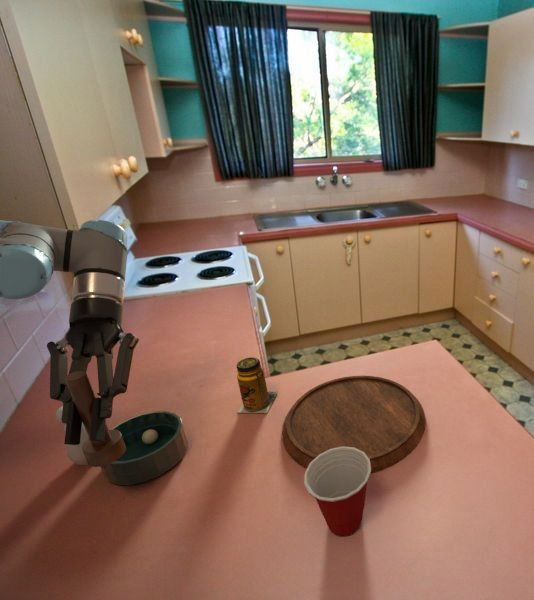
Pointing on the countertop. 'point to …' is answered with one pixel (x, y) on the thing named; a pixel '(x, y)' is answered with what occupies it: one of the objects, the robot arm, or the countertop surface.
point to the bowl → (147, 448)
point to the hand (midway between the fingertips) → (84, 442)
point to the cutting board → (355, 421)
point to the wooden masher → (83, 399)
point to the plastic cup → (340, 487)
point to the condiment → (253, 387)
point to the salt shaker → (75, 450)
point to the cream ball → (150, 436)
